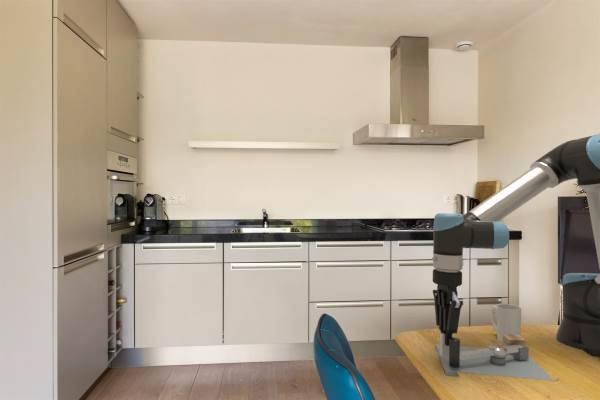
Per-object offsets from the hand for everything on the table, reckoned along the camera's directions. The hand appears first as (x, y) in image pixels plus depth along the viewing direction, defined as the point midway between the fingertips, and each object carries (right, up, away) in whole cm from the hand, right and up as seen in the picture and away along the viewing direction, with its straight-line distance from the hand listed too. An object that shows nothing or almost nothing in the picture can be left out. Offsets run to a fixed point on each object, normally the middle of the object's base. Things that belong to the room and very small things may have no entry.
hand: (445, 355), depth 100 cm
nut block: (+23, -2, +7) cm, 24 cm away
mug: (+26, -4, +18) cm, 31 cm away
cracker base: (+12, -3, +1) cm, 13 cm away
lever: (+11, -1, -1) cm, 11 cm away
